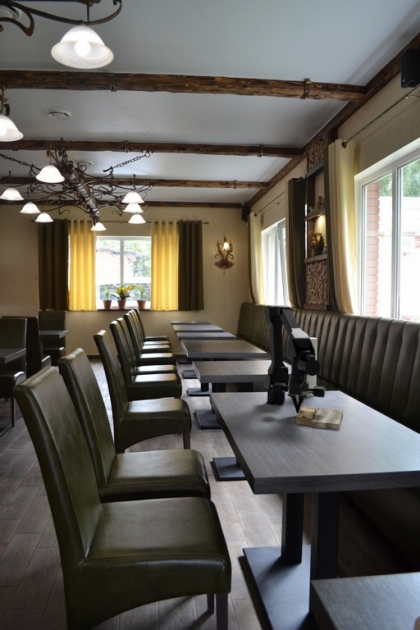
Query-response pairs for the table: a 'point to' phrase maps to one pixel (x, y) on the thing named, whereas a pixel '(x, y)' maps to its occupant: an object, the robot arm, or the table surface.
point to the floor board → (327, 418)
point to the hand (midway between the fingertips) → (297, 413)
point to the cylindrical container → (313, 378)
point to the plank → (305, 415)
